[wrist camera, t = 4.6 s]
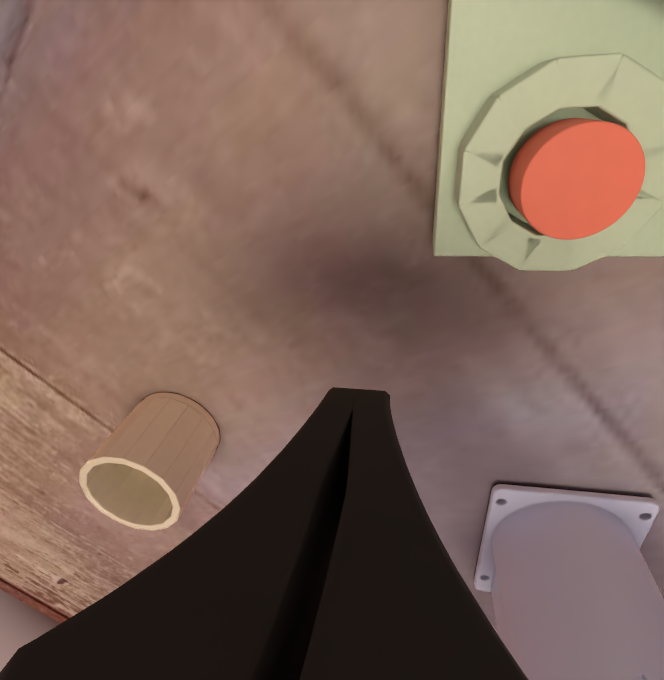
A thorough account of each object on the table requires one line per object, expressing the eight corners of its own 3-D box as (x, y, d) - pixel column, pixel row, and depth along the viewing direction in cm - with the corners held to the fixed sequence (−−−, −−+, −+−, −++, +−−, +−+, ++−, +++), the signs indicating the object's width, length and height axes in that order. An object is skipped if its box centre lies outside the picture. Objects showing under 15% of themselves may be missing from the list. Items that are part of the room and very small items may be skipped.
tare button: (602, 223, 13) (626, 240, 12) (501, 224, 14) (511, 240, 12) (631, 114, 12) (663, 117, 10) (516, 120, 12) (530, 124, 11)
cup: (227, 462, 26) (189, 536, 21) (150, 455, 26) (99, 524, 22) (210, 394, 23) (164, 462, 19) (125, 389, 24) (63, 453, 20)
